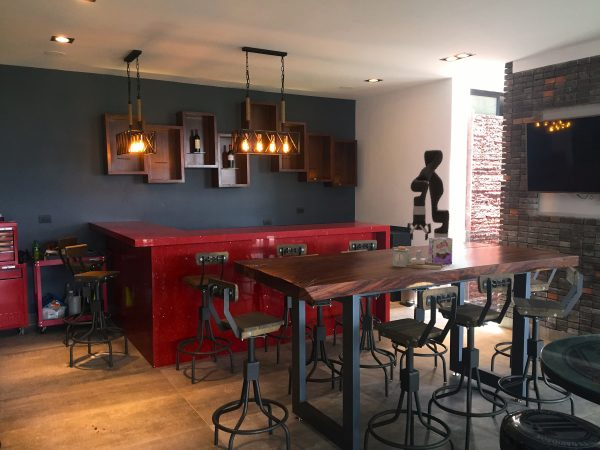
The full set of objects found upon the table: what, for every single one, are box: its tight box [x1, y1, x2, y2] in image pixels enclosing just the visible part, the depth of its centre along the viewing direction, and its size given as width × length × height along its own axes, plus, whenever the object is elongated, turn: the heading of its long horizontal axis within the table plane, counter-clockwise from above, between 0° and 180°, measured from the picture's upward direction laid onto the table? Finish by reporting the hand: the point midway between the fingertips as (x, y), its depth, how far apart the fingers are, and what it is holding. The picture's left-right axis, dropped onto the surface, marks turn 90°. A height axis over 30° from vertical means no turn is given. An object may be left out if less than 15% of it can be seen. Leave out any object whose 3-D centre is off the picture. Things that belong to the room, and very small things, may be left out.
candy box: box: [427, 237, 453, 265], centre depth 321 cm, size 14×6×16 cm, turn 101°
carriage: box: [410, 249, 428, 264], centre depth 309 cm, size 8×8×8 cm
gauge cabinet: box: [392, 248, 411, 268], centre depth 313 cm, size 10×8×10 cm
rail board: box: [405, 260, 444, 270], centre depth 308 cm, size 10×20×3 cm, turn 63°
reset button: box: [396, 245, 407, 250], centre depth 313 cm, size 4×4×4 cm
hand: (418, 239), depth 308 cm, fingers open, 8 cm apart
